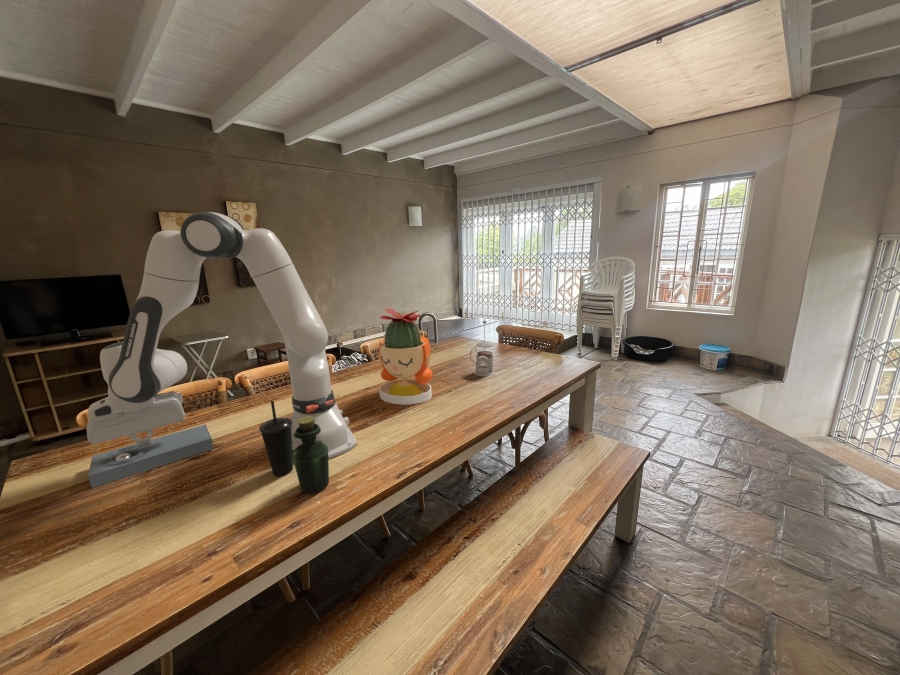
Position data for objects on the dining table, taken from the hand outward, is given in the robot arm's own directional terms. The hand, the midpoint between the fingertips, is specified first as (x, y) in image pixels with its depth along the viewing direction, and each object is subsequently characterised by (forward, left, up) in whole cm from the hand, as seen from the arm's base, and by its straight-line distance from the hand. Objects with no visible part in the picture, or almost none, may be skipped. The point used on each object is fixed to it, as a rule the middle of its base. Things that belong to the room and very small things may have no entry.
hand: (144, 444), depth 98 cm
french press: (-17, -120, -5) cm, 121 cm away
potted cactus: (-12, -81, -5) cm, 82 cm away
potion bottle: (-44, -31, -5) cm, 54 cm away
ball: (0, +5, -3) cm, 6 cm away
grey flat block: (0, -2, -5) cm, 5 cm away
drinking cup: (-32, -27, -5) cm, 42 cm away
